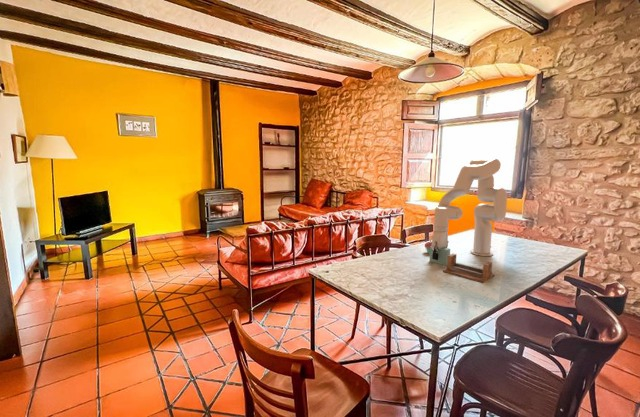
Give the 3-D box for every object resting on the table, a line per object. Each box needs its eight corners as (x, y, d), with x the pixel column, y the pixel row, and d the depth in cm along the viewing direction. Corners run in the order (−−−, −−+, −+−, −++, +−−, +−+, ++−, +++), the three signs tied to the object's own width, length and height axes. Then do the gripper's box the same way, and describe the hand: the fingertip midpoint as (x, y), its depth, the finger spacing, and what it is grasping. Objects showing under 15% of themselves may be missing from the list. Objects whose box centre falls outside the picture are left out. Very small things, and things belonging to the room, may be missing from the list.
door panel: (433, 259, 177) (433, 245, 176) (449, 263, 170) (450, 248, 169) (429, 261, 175) (430, 246, 174) (445, 265, 167) (446, 249, 166)
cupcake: (433, 255, 185) (434, 236, 183) (421, 252, 192) (422, 234, 190) (440, 252, 191) (441, 234, 189) (428, 250, 197) (429, 232, 195)
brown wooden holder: (455, 265, 166) (456, 252, 165) (494, 275, 151) (495, 260, 150) (442, 271, 157) (443, 257, 156) (483, 282, 142) (484, 266, 141)
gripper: (442, 225, 178) (440, 253, 180) (426, 229, 167) (425, 259, 169) (454, 227, 172) (453, 256, 175) (439, 232, 161) (438, 262, 164)
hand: (439, 257), depth 172 cm, fingers open, 9 cm apart
